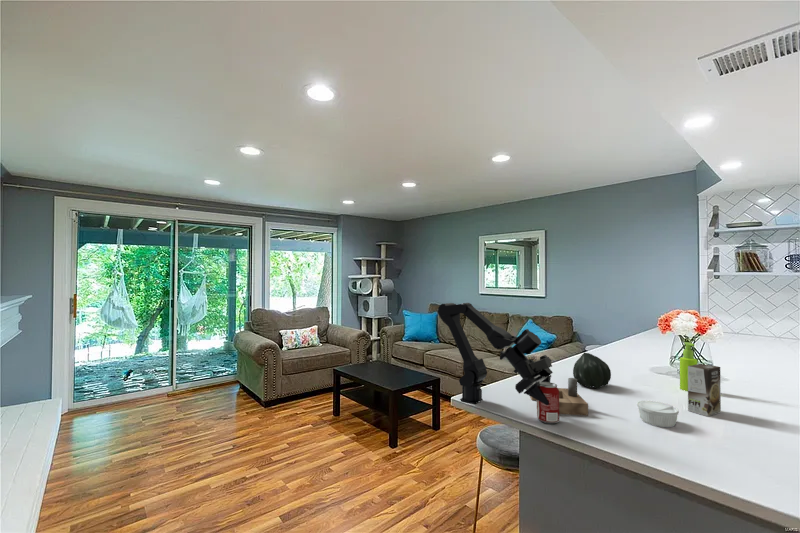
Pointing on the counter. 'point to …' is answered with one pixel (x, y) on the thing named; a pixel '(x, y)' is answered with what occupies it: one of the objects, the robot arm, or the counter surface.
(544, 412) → the soda can
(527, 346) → the robot arm
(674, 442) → the counter surface
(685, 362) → the soap dispenser
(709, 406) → the coffee box
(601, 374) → the squash
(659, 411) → the ramekin
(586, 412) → the peg board
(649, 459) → the counter surface
